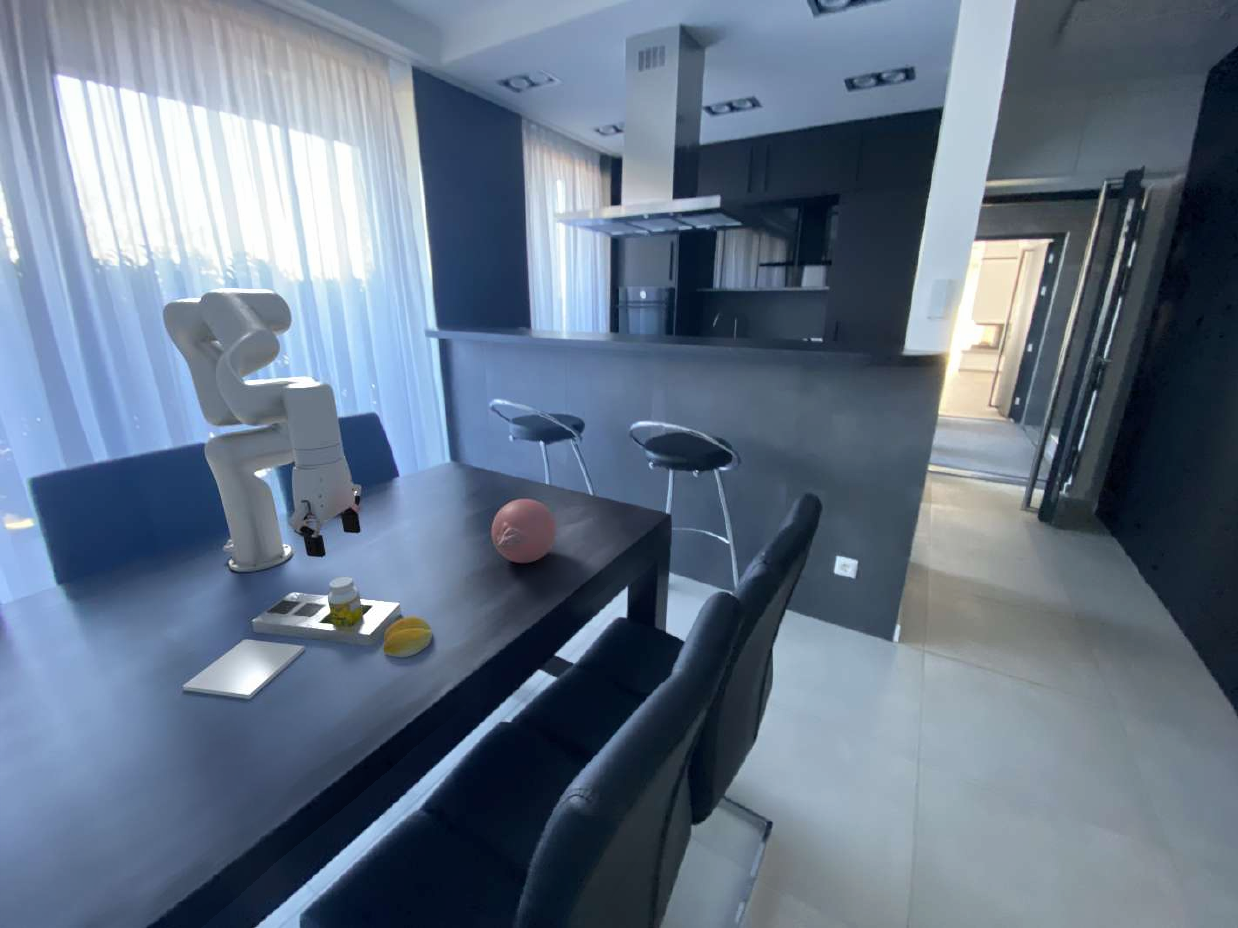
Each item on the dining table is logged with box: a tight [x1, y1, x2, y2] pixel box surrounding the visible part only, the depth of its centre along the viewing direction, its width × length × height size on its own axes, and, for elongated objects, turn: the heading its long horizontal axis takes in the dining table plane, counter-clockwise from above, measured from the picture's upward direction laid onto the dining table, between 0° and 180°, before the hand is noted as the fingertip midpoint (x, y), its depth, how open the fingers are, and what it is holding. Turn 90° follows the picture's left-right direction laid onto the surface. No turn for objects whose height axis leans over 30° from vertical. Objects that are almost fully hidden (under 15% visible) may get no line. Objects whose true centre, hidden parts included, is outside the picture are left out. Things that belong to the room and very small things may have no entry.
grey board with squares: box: [251, 591, 402, 647], centre depth 99 cm, size 24×10×3 cm, turn 82°
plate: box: [182, 638, 306, 700], centre depth 87 cm, size 12×12×1 cm
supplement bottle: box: [327, 576, 364, 627], centre depth 97 cm, size 5×5×10 cm
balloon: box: [491, 498, 557, 564], centre depth 120 cm, size 15×20×15 cm
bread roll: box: [382, 616, 433, 658], centre depth 93 cm, size 8×9×4 cm
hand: (335, 543), depth 93 cm, fingers open, 9 cm apart
